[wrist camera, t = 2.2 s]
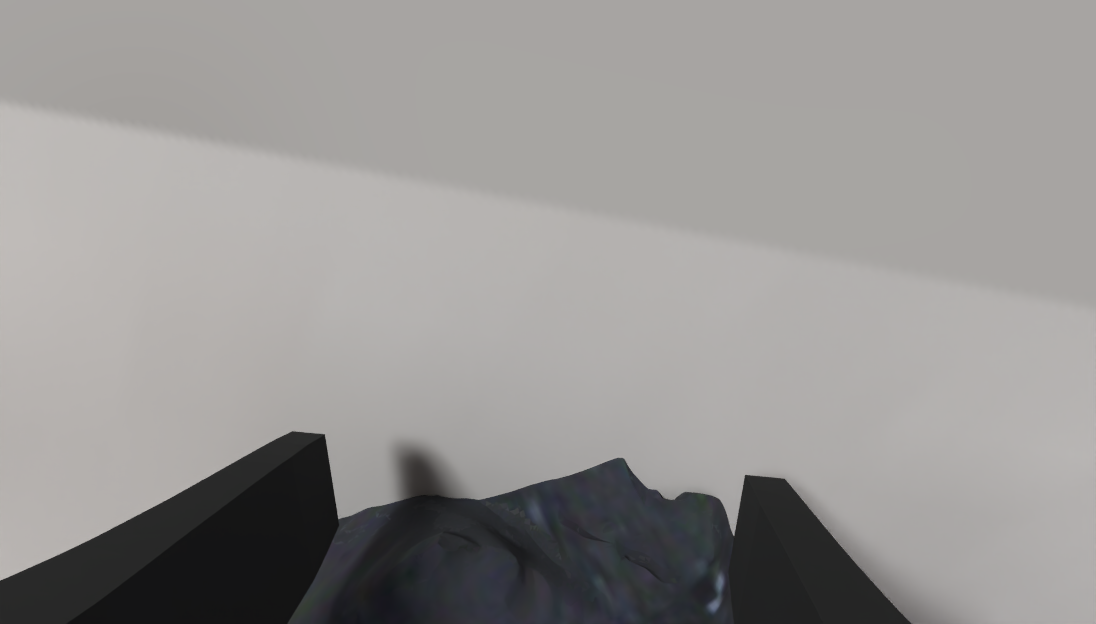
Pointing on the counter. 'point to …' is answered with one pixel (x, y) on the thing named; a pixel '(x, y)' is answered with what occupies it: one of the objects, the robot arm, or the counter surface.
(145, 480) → the counter surface
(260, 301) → the counter surface
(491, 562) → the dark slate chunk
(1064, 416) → the counter surface
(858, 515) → the counter surface
